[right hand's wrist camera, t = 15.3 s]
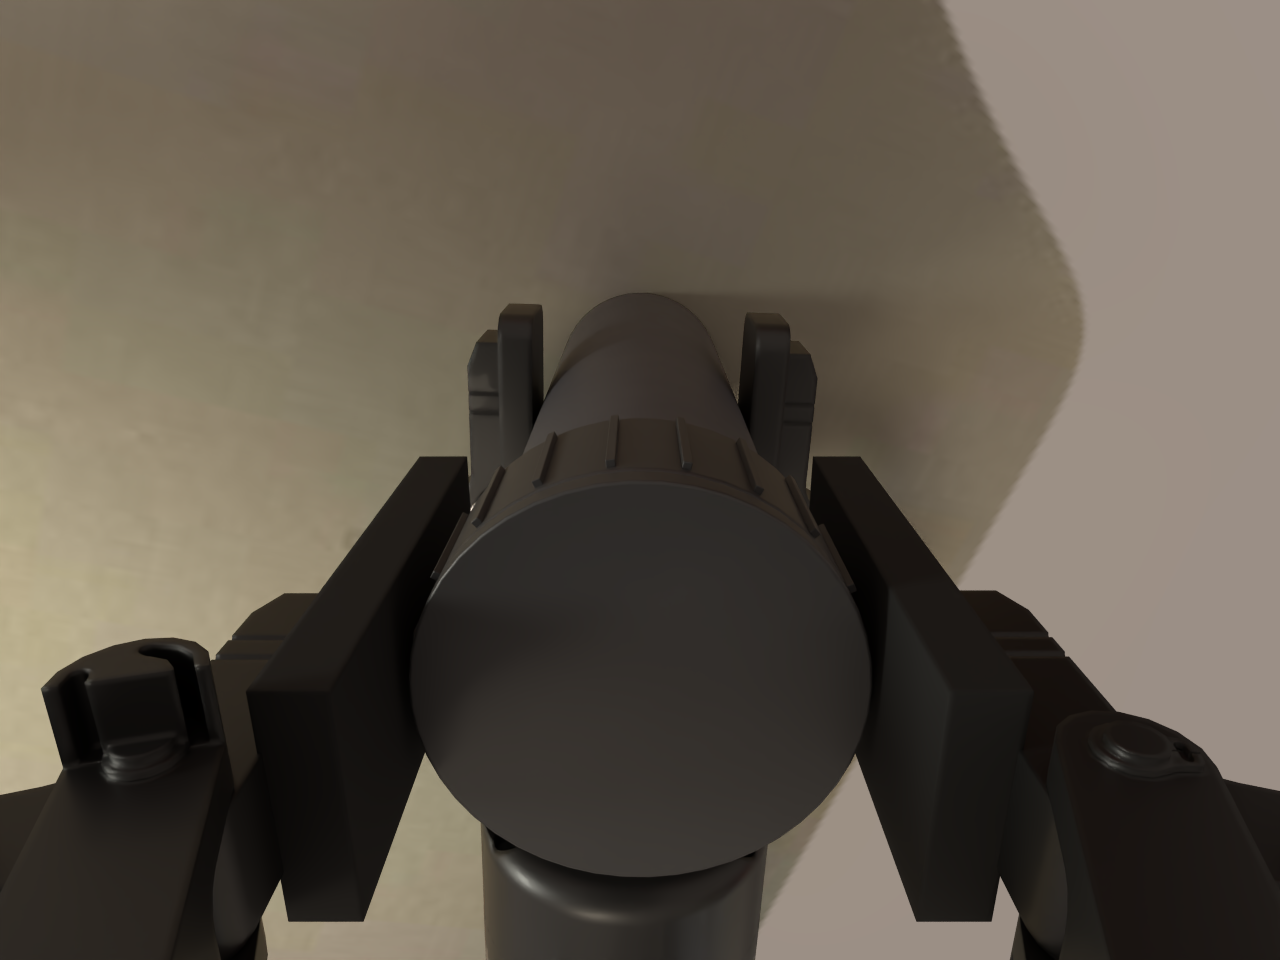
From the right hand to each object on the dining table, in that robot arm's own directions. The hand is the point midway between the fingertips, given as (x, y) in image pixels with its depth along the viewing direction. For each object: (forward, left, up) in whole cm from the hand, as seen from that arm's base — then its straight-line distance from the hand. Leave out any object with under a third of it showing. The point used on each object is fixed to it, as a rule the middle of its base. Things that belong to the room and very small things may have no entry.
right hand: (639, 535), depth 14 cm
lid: (0, 0, +4) cm, 4 cm away
